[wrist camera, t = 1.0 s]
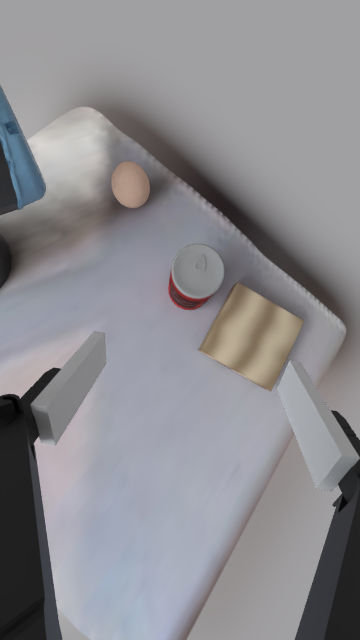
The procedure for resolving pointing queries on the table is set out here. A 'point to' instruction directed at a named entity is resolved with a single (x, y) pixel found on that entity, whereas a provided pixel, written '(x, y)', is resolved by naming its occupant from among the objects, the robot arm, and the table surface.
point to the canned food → (195, 276)
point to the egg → (130, 184)
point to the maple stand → (251, 336)
